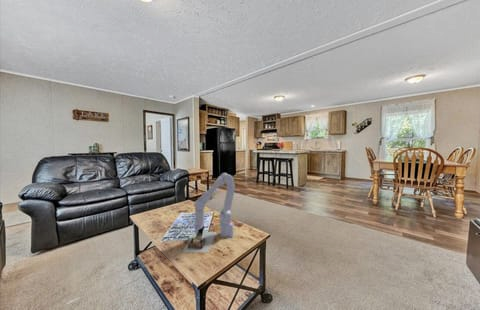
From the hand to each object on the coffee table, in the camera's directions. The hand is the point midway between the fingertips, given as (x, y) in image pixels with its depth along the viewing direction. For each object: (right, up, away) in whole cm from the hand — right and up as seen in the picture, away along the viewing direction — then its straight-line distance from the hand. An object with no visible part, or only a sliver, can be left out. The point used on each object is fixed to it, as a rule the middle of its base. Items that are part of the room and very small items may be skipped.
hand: (200, 238), depth 115 cm
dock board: (+1, -2, -2) cm, 2 cm away
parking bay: (0, -1, -6) cm, 7 cm away
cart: (0, -1, -5) cm, 5 cm away
